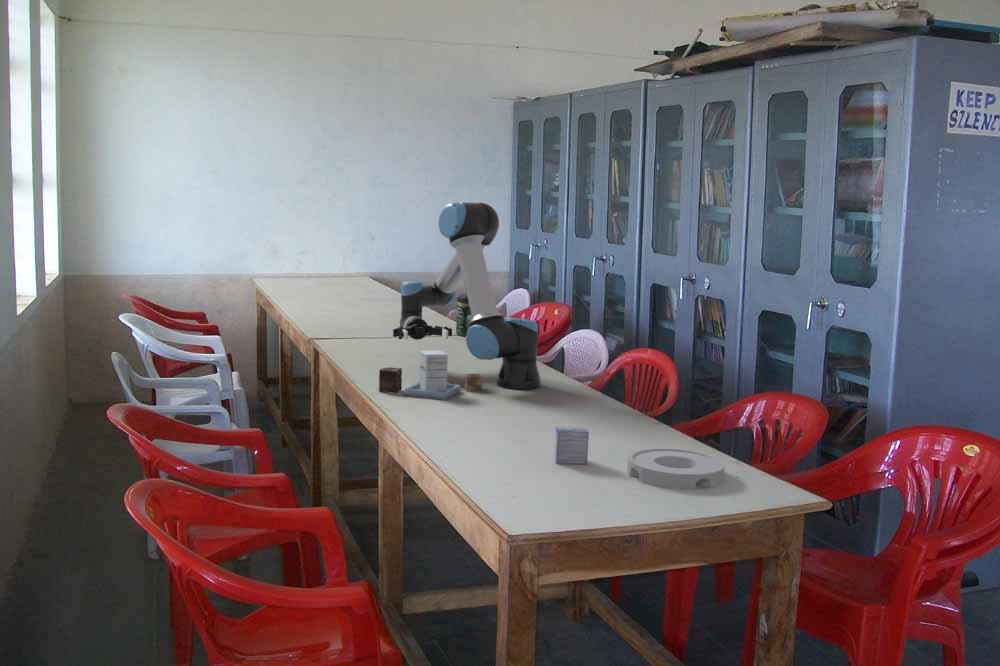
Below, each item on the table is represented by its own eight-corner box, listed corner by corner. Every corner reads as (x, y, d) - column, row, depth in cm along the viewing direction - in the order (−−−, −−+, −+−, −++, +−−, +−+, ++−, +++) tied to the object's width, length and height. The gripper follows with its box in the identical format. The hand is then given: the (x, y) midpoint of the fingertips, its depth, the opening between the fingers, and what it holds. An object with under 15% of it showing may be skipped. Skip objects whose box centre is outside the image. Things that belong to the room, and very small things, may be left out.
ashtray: (714, 496, 225) (716, 479, 225) (616, 482, 234) (617, 465, 233) (730, 471, 247) (731, 455, 246) (639, 458, 255) (640, 443, 254)
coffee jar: (453, 334, 449) (454, 293, 446) (469, 333, 453) (470, 293, 450) (462, 337, 441) (463, 295, 438) (478, 336, 444) (479, 295, 441)
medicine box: (585, 460, 250) (587, 426, 249) (587, 465, 246) (589, 431, 244) (554, 459, 250) (555, 425, 248) (555, 464, 245) (557, 430, 244)
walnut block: (480, 388, 333) (480, 374, 332) (481, 391, 328) (481, 376, 327) (465, 388, 332) (465, 373, 331) (466, 391, 327) (466, 376, 326)
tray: (460, 391, 326) (460, 385, 326) (446, 400, 312) (446, 393, 312) (419, 387, 329) (420, 381, 329) (404, 395, 316) (405, 389, 316)
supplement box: (418, 388, 323) (419, 350, 321) (440, 387, 326) (441, 350, 324) (424, 393, 316) (425, 354, 314) (447, 392, 319) (448, 354, 317)
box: (396, 393, 319) (396, 371, 318) (378, 392, 320) (378, 369, 319) (401, 390, 325) (402, 368, 324) (384, 388, 326) (384, 366, 325)
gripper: (450, 337, 352) (463, 345, 332) (380, 339, 346) (389, 347, 326) (450, 316, 352) (463, 323, 331) (380, 317, 345) (389, 324, 325)
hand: (426, 335), depth 328 cm, fingers open, 13 cm apart
